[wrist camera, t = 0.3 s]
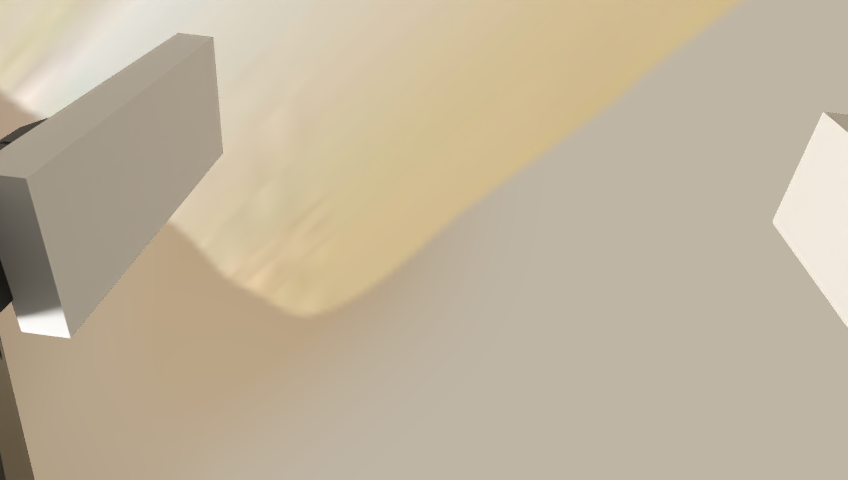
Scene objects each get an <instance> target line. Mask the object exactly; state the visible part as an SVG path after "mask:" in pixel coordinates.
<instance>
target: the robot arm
mask: <svg viewBox="0 0 848 480" xmlns="http://www.w3.org/2000/svg"><path fill="white" fill-rule="evenodd" d="M222 153H223V147H222V136H221V124H220V112H219V100H218V89H217V77H216V65H215V54H214V42H213V37H207V36H199V35H190V34H182V33H177V34H176V35H174V36H173V37H171V38H170V39H168V40H167V41H165V42H164V43H162V44H161V45H159V46H158V47H156V48H155V49H153V50H152V51H150V52H149V53H147V54H146V55H144V56H143V57H141V58H139V59H138V60H136V61H135V62H133V63H132V64H130V65H129V66H127V67H126V68H124V69H123V70H121V71H120V72H118V73H117V74H115V75H114V76H112V77H111V78H109V79H108V80H106V81H105V82H103V83H101V84H100V85H98V86H97V87H95V88H94V89H92V90H91V91H89V92H88V93H86V94H85V95H83V96H82V97H80V98H79V99H77V100H76V101H74V102H73V103H71V104H70V105H68V106H67V107H65V108H63V109H62V110H60V111H59V112H57V113H56V114H54V115H53V116H51V117H50V118H46V119H43V120H41V121H38V122H35V123H32V124H29V125H26V126H23V127H20V128H19V129H17V130H15V131H14V132H12V133H11V134H9V135H7V136H6V137H4V138H3V139H1V140H0V312H1V311H2V310H3V309H4V308H5V307H6V306H7V305H8V304H9V303H10V302H12V305H13V307H14V311H15V314H16V317H17V319H18V323H19V325H20V329H21V331H22V332H27V333H34V334H42V335H49V336H57V337H65V338H71V337H72V336H73V335H74V334H75V332H76V331H77V330H78V329H79V327H80V326H81V325H82V323H84V321H85V320H86V319H87V318H88V317H89V315H90V314H91V313H92V312H93V311H94V309H95V308H96V307H97V306H98V304H99V303H100V302H101V301H102V300H103V298H104V297H105V296H106V294H107V293H108V292H109V291H110V290H111V289H112V287H113V286H114V285H115V283H117V281H118V280H119V279H120V278H121V276H122V275H123V274H124V273H125V272H126V270H127V269H128V268H129V267H130V265H131V264H132V263H133V262H134V260H135V259H136V258H137V257H138V256H139V255H140V253H141V252H142V251H143V249H144V248H145V247H146V246H147V245H148V244H149V242H150V241H151V240H152V239H153V237H154V236H155V235H156V234H157V233H158V231H159V230H160V229H161V228H162V226H163V225H164V224H165V223H166V222H167V220H168V219H169V218H170V217H171V216H172V214H173V213H174V212H175V211H176V209H177V208H178V207H179V206H180V205H181V203H182V202H183V201H184V200H185V199H186V197H187V196H188V195H189V194H190V192H191V191H192V190H193V189H194V188H195V186H196V185H197V184H198V183H199V181H200V180H201V179H202V178H203V177H204V175H205V174H206V173H207V172H208V171H209V169H210V168H211V167H212V166H213V164H214V163H215V162H216V161H217V160H218V158H219V157H220V156H221V155H222ZM772 222H773V224H774V225H775V227H776V228H777V230H778V231H779V232H780V234H781V235H782V237H783V238H784V239H785V241H786V242H787V243H788V245H789V246H790V248H791V249H792V250H793V252H794V253H795V255H796V256H797V257H798V259H799V260H800V262H801V263H802V264H803V266H804V267H805V269H806V270H807V271H808V273H809V274H810V276H811V277H812V278H813V280H814V281H815V283H816V284H817V285H818V287H819V288H820V290H821V291H822V292H823V294H824V295H825V297H826V298H827V299H828V301H829V302H830V304H831V305H832V306H833V308H834V309H835V311H836V312H837V313H838V315H839V316H840V317H841V319H842V320H843V322H844V323H845V325H846V326H847V327H848V115H845V114H837V113H829V112H823V114H822V116H821V118H820V120H819V122H818V124H817V127H816V129H815V131H814V133H813V135H812V138H811V140H810V142H809V144H808V146H807V148H806V150H805V152H804V155H803V157H802V159H801V161H800V163H799V165H798V167H797V170H796V172H795V174H794V176H793V179H792V180H791V183H790V185H789V187H788V189H787V191H786V193H785V196H784V198H783V200H782V202H781V204H780V206H779V208H778V211H777V213H776V215H775V217H774V219H773V221H772ZM0 480H34V476H33V471H32V467H31V463H30V459H29V455H28V451H27V447H26V442H25V438H24V434H23V430H22V426H21V422H20V417H19V413H18V409H17V405H16V401H15V396H14V392H13V388H12V384H11V380H10V375H9V371H8V367H7V363H6V359H5V354H4V350H3V346H2V342H1V338H0Z"/></svg>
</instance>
